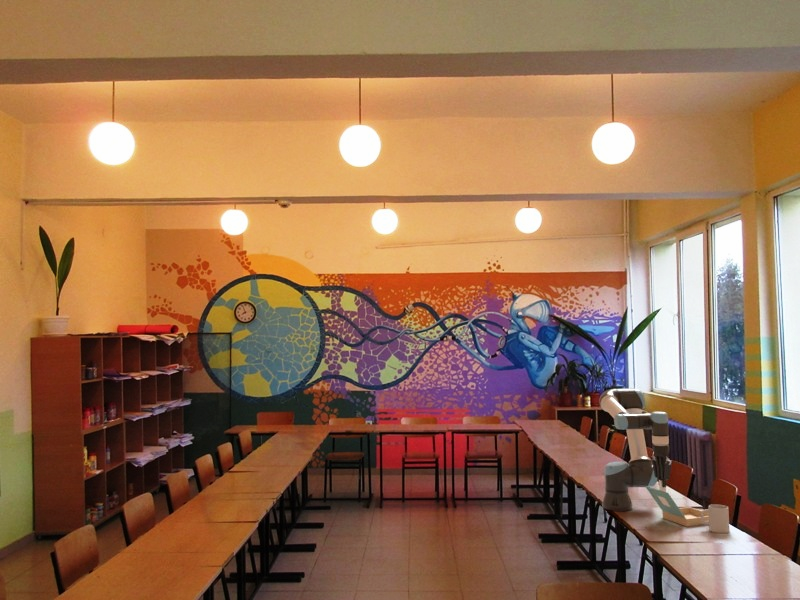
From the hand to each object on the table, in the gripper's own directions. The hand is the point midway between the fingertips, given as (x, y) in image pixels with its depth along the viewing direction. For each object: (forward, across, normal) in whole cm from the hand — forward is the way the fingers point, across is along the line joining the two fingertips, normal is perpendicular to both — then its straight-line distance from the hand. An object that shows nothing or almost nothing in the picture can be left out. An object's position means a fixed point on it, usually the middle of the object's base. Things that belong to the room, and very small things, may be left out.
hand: (662, 493), depth 329 cm
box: (+14, 0, -15) cm, 21 cm away
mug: (+15, -18, -14) cm, 27 cm away
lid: (+4, 0, -1) cm, 4 cm away
